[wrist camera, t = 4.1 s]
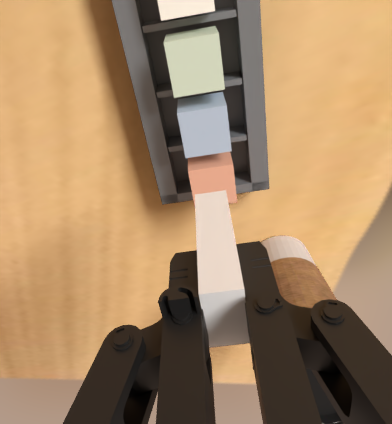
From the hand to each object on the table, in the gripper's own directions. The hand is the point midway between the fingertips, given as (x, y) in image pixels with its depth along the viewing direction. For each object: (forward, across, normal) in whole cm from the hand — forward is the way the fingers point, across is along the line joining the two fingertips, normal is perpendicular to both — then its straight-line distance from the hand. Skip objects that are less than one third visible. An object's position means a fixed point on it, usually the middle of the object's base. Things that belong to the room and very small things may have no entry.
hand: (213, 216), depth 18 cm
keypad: (+14, 0, +4) cm, 14 cm away
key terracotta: (+11, 0, -3) cm, 12 cm away
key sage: (+11, 0, +6) cm, 12 cm away
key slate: (+11, 0, +1) cm, 11 cm away
